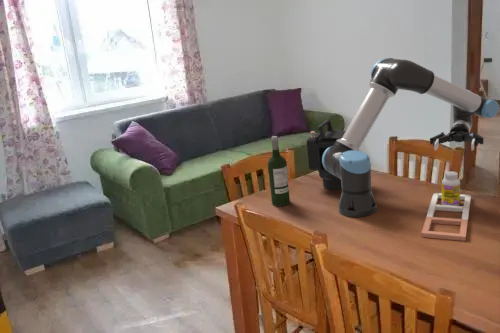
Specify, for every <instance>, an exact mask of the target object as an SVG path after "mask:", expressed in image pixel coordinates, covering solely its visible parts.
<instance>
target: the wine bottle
mask: <svg viewBox="0 0 500 333" xmlns="http://www.w3.org/2000/svg"><path fill="white" fill-rule="evenodd" d="M271 150H272V155H271V157H270V158H269V159H268V161H267V169H268V176H269V177H268V178H269V179H268V180H269V188H270V196H271V198H270V199H271V204H272V205H273V206H276V207H283V206H284V205H285V206H287V205H289V204H290V202H291V200H290V198H291V197H290V189H289V188H290V187H289V179H288V178H289V177H288V168H287V167H288V166H287V160H286V159H285V157H283V156H282V155H281V153H280V145H279V138H278V136H277V135H273V136H271Z"/></svg>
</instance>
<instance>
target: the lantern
mask: <svg viewBox="0 0 500 333" xmlns="http://www.w3.org/2000/svg"><path fill="white" fill-rule="evenodd" d="M325 126H326V129H327V131H325V129H324V127H325ZM317 130H318V132H315V131H313V130H311V131H310V132H309V133H310V134H311V136H310V137H309V138H307V140H306V148H307V160H308V169H309V170H310V171H317V172H318V176H319V177H320V178H321V179H322V187H323V188H324V189H326V190H328V191H329V190H330V191H331V190H332V191H338V190H342V186H341V179H339V178H337V177H336V176H334V175H332V174H330V173H329V172H328V171H327V170H326V169H325V168H324V166H323V163H322V156H323V153H324V152H325V150H326V149H327V148H329V147H331V146H333V145H334V143H335V142H336V140H338V139H341V138H342V137H343V135H344V133H345V132H346V130H342V129H334V128H333V126H332V122H331V119H326V120H324V121H323V122H321V123H320V124H319V125H318V126H317Z"/></svg>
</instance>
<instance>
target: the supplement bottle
mask: <svg viewBox="0 0 500 333" xmlns="http://www.w3.org/2000/svg"><path fill="white" fill-rule="evenodd" d="M458 175H459V174H458V172H457V171H450V170H449V171H446V172H444V178H443V179H442V180H441V193H442V199H441V205H452V206H460V204H461V202H460V194H461V181H460V179H459V178H458V177H459V176H458Z"/></svg>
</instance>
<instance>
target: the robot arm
mask: <svg viewBox="0 0 500 333" xmlns="http://www.w3.org/2000/svg"><path fill="white" fill-rule="evenodd" d="M370 76H371V77H370V78H371V79H370V81H369V89H368V92H367V93H366V95H365V97H364V98H363V101H362V102H361V104H360V106H359V107H358V109H357V111H356V113H355V114H354V116H353V118H352V120H351V121H350V123H349V125H348V126H347V128H346V130H345V131H346V132H345V133H344V135H343V137H342V138H341V139H338V140H336V142H335V143H334V145H333V146H331V147H329V148H327V149H326V150H325V152H324V153H323V156H322V163H323V166H324V168H325V169H326V170H327V171H328V172H329V173H330V174H332V175H334V176H336V177H337V178H339V179H341V186H342V189H341V195H340V197H339V202H338V207H337V208H338V212H339V213H340V215H343V216H346V217H351V218H352V217H353V218H362V217H367V216H370V215H371V216H372V215H373V214H375V213H376V212H377V210H378V208H377V207H378V206H377V205H378V204H377V201H376V200H375V195H374V194H373V191H372V171H371V170H372V168H371V167H372V162H371V158H370V157H371V156H369V154H368V153H366V152H365V151H362V150H361V147H362V145H363V143H364V142H365V140H366V138H367V136H369V133H370V132H371V130H372V127H374V124H375V123H376V121H377V119H378V117H379V116H380V114H381V113H382V111H383V109H384V107H385V105H386V103H387V102H388V100H389V99H390V98H393V97H395V96H396V94H397V92H398V91H399V90H402V91H403V90H404V91H409V92H414V93H417V94H419V95H424V94H426V95H429V96H431V97H434V98H435V99H437V100H440V101H444V102H445V103H448V104H450V105H452V113H453V116H452V117H453V119H452V120H453V121H452V122H453V124H452V126H451V129H450V131H449V132H448V133H445V132H444V131H443V132H440V133H439V134H437V135H434V136H433V137H430V138H429V145H431V146H433V147H434V151H437V150H438V148H439V147H440V145H441V144H445V143H452V142H455V143H463V142H465V143H469V144H471V145H470V149H471V150H470V151H474V150H475V147H478V145H484V137H483V136H481V135H480V134H478V133H477V131H473V132H471V129H472V127H473V126H474V124H473V116H476V117H477V116H478V117H482V118H485V119H492V118H494V117H495V116H496V115H497V114H498V112H499V110H500V105H499V103H498V102H497V101H496V100H494V99H491V98H486V97H484V96H481V95H479V94H477V93H474V92H472V90H470V89H466V88H463V87H461V86H459V85H457V84H456V83H452V82H450V81H448V80H445V79H443V78H441V77H438V76H436V74H435V73H434V71H433V70H430V69H427V68H426V67H424V66H422V65H420V64H418V63H416V62H414V61H411V60H408V59H398V58H393V57H388V58H383V59H379V60H377V61H376V63H374V65H373V66H372V68H371V71H370ZM470 132H471V133H470Z"/></svg>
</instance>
